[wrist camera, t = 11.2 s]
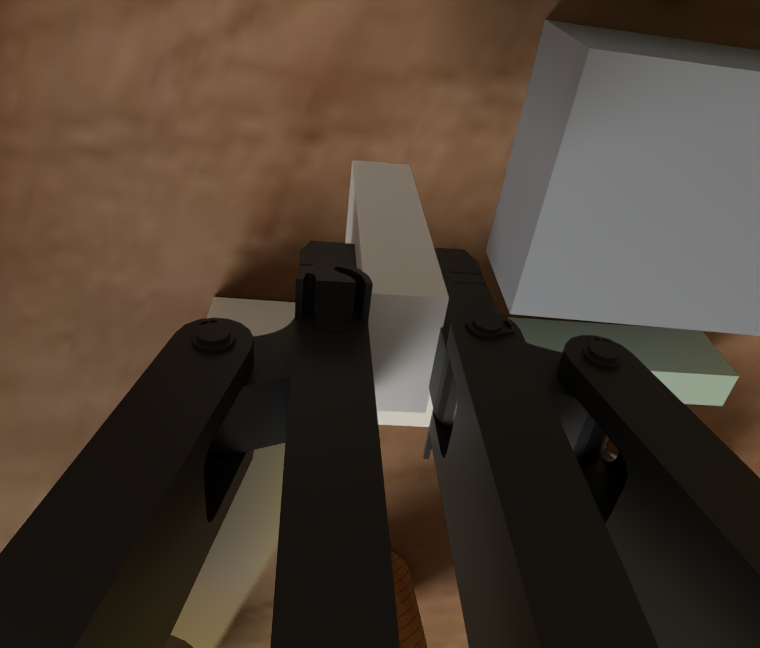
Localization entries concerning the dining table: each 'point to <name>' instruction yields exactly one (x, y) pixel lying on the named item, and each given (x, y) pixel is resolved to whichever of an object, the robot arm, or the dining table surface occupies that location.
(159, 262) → the dining table surface
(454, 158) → the dining table surface
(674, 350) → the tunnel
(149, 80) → the dining table surface
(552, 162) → the slate block
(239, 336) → the robot arm
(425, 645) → the disposable coffee cup
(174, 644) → the pepper mill
